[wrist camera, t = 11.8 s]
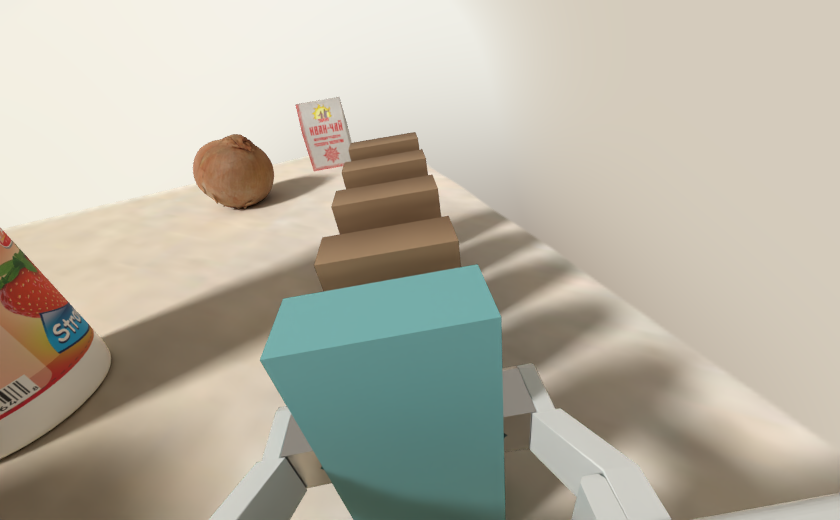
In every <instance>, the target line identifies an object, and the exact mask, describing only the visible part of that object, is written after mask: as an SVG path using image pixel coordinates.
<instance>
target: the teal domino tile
mask: <svg viewBox="0 0 840 520" xmlns="http://www.w3.org/2000/svg"><path fill="white" fill-rule="evenodd" d="M260 361H261V363H262V365H263V366H264V368H265V370H266V371H267V373H268V375H269V376H270V378H271V380H272V382H273V383H274V385H275V387H276V388H277V390H278V392H279V394H280V395H281V397H282V399H283V400H284V402H285V404H286V405H287V407H288V409H289V411H290V412H291V414H292V416H293V417H294V419H295V421H296V422H297V424H298V426H299V428H300V429H301V431H302V433H303V434H304V436H305V438H306V439H307V441H308V443H309V445H310V446H311V448H312V450H313V451H314V453H315V455H316V457H317V458H318V460H319V462H320V463H321V465H322V467H323V468H324V470H325V472H326V474H327V475H328V477H329V479H330V480H331V482H332V484H333V485H334V487H335V489H336V491H337V492H338V494H339V496H340V497H341V499H342V501H343V503H344V504H345V506H346V508H347V509H348V511H349V513H350V514H351V516H352V518H353V520H505V475H504V426H503V376H502V327H501V315H500V313H499V311H498V309H497V306H496V304H495V302H494V300H493V297H492V295H491V293H490V291H489V288H488V286H487V284H486V282H485V279H484V277H483V275H482V273H481V271H480V268H479V266H478V264H477V265H471V266H465V267H460V268H454V269H448V270H443V271H437V272H431V273H426V274H420V275H414V276H409V277H403V278H397V279H392V280H386V281H380V282H375V283H369V284H363V285H358V286H352V287H346V288H341V289H335V290H329V291H324V292H318V293H312V294H307V295H301V296H295V297H290V298H284V299H283V301H282V303H281V306H280V308H279V311H278V314H277V316H276V319H275V322H274V324H273V327H272V329H271V332H270V335H269V337H268V340H267V343H266V345H265V348H264V350H263V353H262V356H261V358H260Z"/></svg>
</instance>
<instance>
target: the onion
mask: <svg viewBox="0 0 840 520" xmlns="http://www.w3.org/2000/svg"><path fill="white" fill-rule="evenodd" d="M193 174H194V178H195V181H196V183H197V185H198V187H199V188H200V189H201V190H202V191H203V192H204V193H205V194H207V195H208V196H209V197H211V198H212V199H214V200H215V201H216V203H217V204H218V202H219V203H221V204H223V205H224V206H227V207H232V208H234V207H236V208H238V209H240V208H243V207H244V209H245V208H246V207H248V206H252V205H254V204H256V203H258V202H260V201H262V200H263V199H264V198H265V197H266V196H267V195H268V194H269V192H270V190H271V188H272V185H273V180H274V171H273V166H272V163H271V161H270V159H269V158H268V156H267V155H266V154H265V153H264V152H263V151H262V150H261V149H259V148H258V147H257V146H255V145H254V144H253V143H252V142H251V141H250V140H247V138H246V137H243V136H242V135H238V134H236V135H235V134H233V135H230V136H227V137H225V138H223V139H220V140H215V141H212V142H210V143H208V144H206V145H205V146H203V147H201V148H200V150H199V151H198V152H197V154H196V156H195V159H194V163H193Z"/></svg>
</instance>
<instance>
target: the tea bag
mask: <svg viewBox="0 0 840 520" xmlns="http://www.w3.org/2000/svg"><path fill="white" fill-rule="evenodd" d="M296 108H297V112H298V117H299V121H300V126H301V130H302V134H303V138H304V141H305V144H306V147H307V150H308V154H309V157H310V160H311V163H312V166H313V169H314V171H317V170H323V169H328V168H334V167H340V166H344V163H345V162H351V159H350V155H349V151H348V149H349V146H350V143H351V139H350V135H349V130H348V126H347V122H346V119H345V116H344V112H343V109H342V105H341V102H340V98H339V97H336V98H330V99H325V100H318V101H313V102H307V103H301V104H296Z"/></svg>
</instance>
